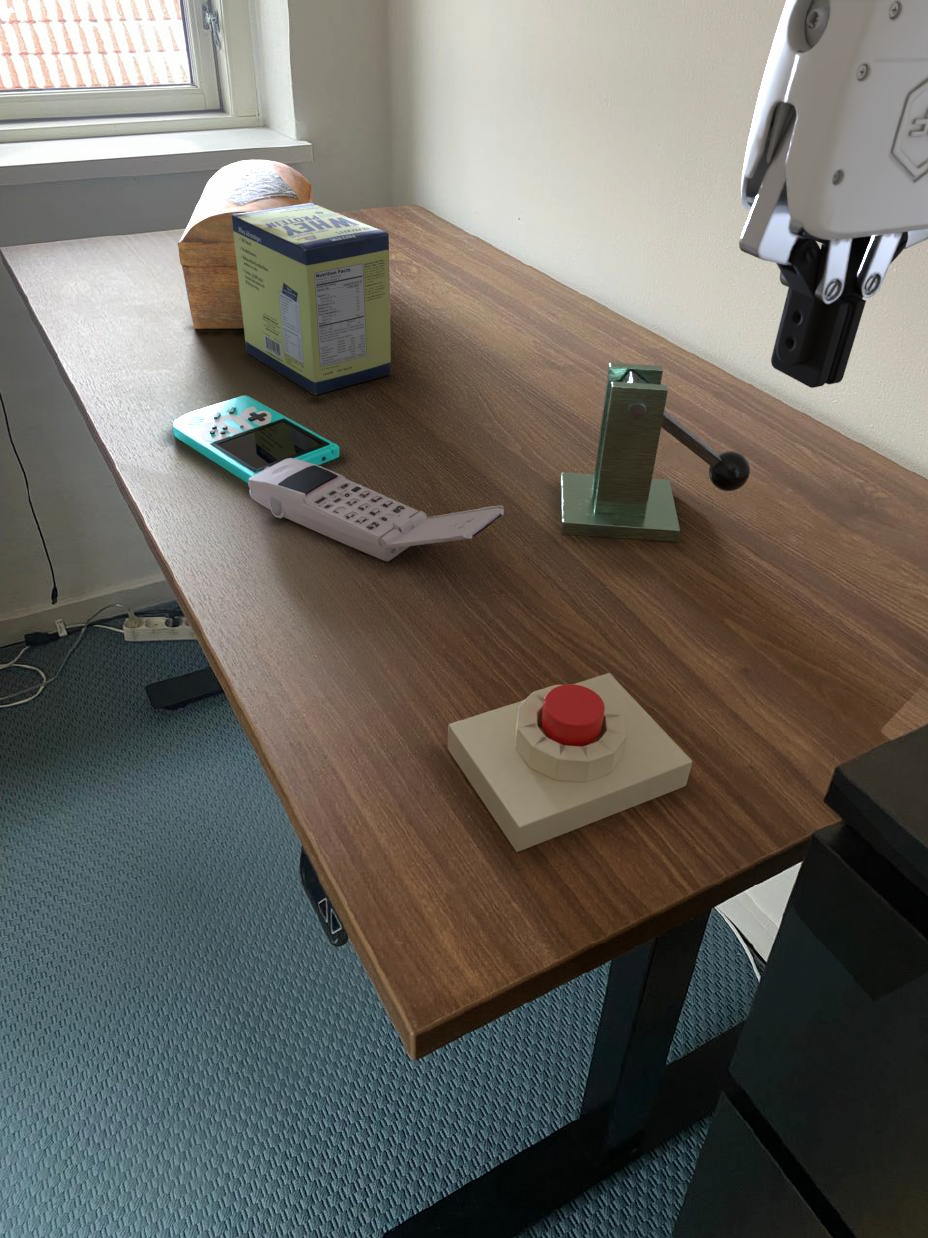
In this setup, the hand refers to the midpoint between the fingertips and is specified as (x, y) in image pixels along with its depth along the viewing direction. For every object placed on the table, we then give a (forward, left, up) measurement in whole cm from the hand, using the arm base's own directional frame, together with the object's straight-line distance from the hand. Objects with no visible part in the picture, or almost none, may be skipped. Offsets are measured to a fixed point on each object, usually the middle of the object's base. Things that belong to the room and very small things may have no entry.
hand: (804, 374), depth 45 cm
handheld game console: (+39, -38, -26) cm, 60 cm away
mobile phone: (+26, -22, -25) cm, 43 cm away
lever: (0, -29, -19) cm, 35 cm away
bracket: (+4, -29, -25) cm, 39 cm away
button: (+9, +3, -22) cm, 24 cm away
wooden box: (+49, -82, -25) cm, 99 cm away
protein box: (+37, -58, -25) cm, 73 cm away
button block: (+9, +3, -25) cm, 27 cm away
